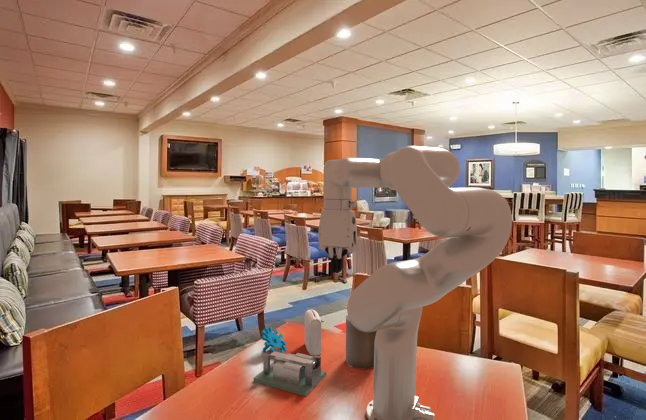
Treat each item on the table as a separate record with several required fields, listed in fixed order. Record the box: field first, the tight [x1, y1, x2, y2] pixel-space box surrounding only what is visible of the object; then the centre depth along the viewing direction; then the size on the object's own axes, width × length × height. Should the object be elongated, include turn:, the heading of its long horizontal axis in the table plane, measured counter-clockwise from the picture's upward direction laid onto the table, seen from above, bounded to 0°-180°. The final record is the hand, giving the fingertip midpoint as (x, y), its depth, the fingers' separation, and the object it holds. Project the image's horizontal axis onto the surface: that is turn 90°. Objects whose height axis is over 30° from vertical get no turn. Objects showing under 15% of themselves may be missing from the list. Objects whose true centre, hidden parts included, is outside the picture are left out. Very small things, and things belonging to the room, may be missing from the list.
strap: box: [270, 351, 318, 367], centre depth 105 cm, size 14×3×1 cm, turn 64°
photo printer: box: [304, 309, 322, 356], centre depth 124 cm, size 10×4×12 cm, turn 13°
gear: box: [260, 326, 288, 354], centre depth 122 cm, size 11×6×10 cm
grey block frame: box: [262, 346, 322, 386], centre depth 105 cm, size 15×8×6 cm, turn 64°
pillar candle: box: [345, 314, 377, 370], centre depth 115 cm, size 10×10×15 cm
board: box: [252, 361, 327, 397], centre depth 106 cm, size 16×12×1 cm
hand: (336, 271), depth 106 cm, fingers closed
